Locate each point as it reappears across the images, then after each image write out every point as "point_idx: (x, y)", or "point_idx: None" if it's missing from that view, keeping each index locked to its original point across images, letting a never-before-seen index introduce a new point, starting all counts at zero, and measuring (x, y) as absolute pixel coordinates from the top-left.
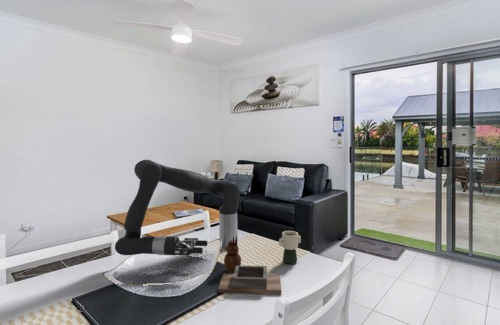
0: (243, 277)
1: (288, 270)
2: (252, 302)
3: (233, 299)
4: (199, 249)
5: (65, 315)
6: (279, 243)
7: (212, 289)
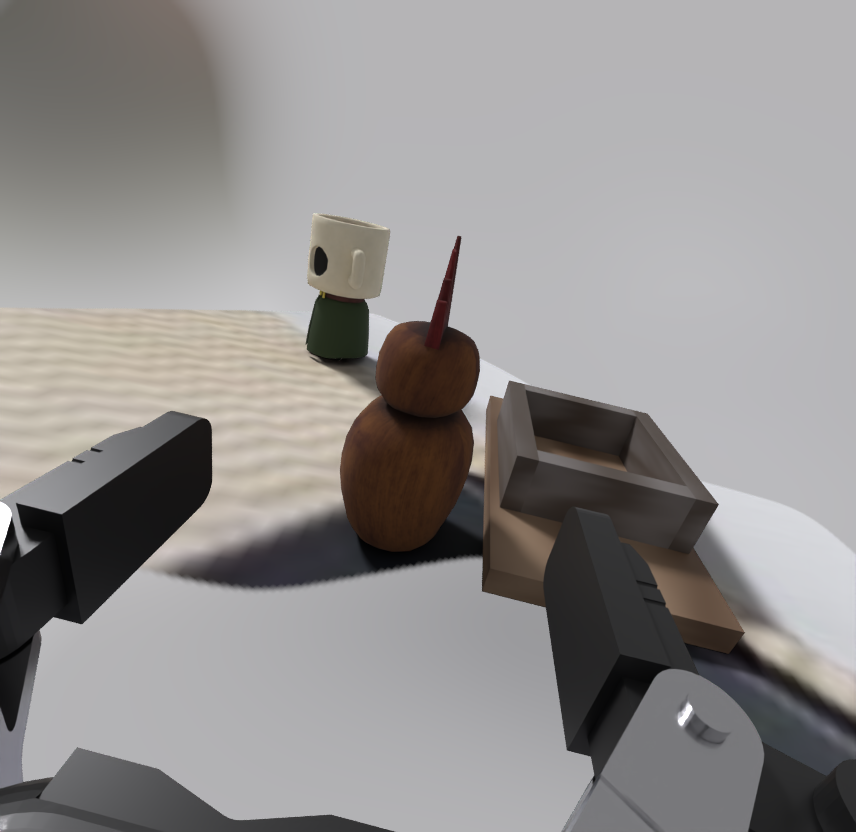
0: (675, 464)
1: None
2: (721, 521)
3: (747, 582)
4: (636, 558)
5: None
6: (360, 276)
7: None
